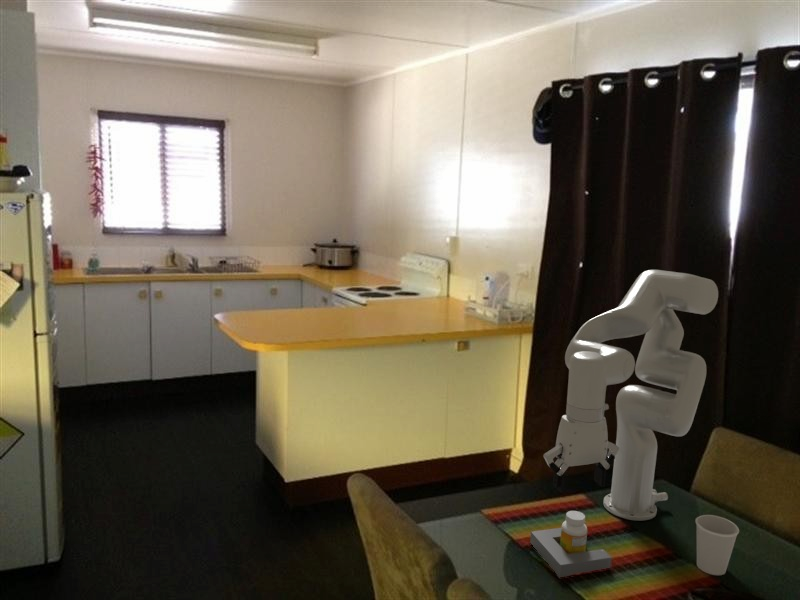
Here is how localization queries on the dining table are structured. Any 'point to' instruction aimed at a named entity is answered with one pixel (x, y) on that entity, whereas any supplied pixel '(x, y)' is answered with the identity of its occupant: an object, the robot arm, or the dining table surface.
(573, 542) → the supplement bottle
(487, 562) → the dining table surface
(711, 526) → the dixie cup
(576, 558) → the side entry holder
